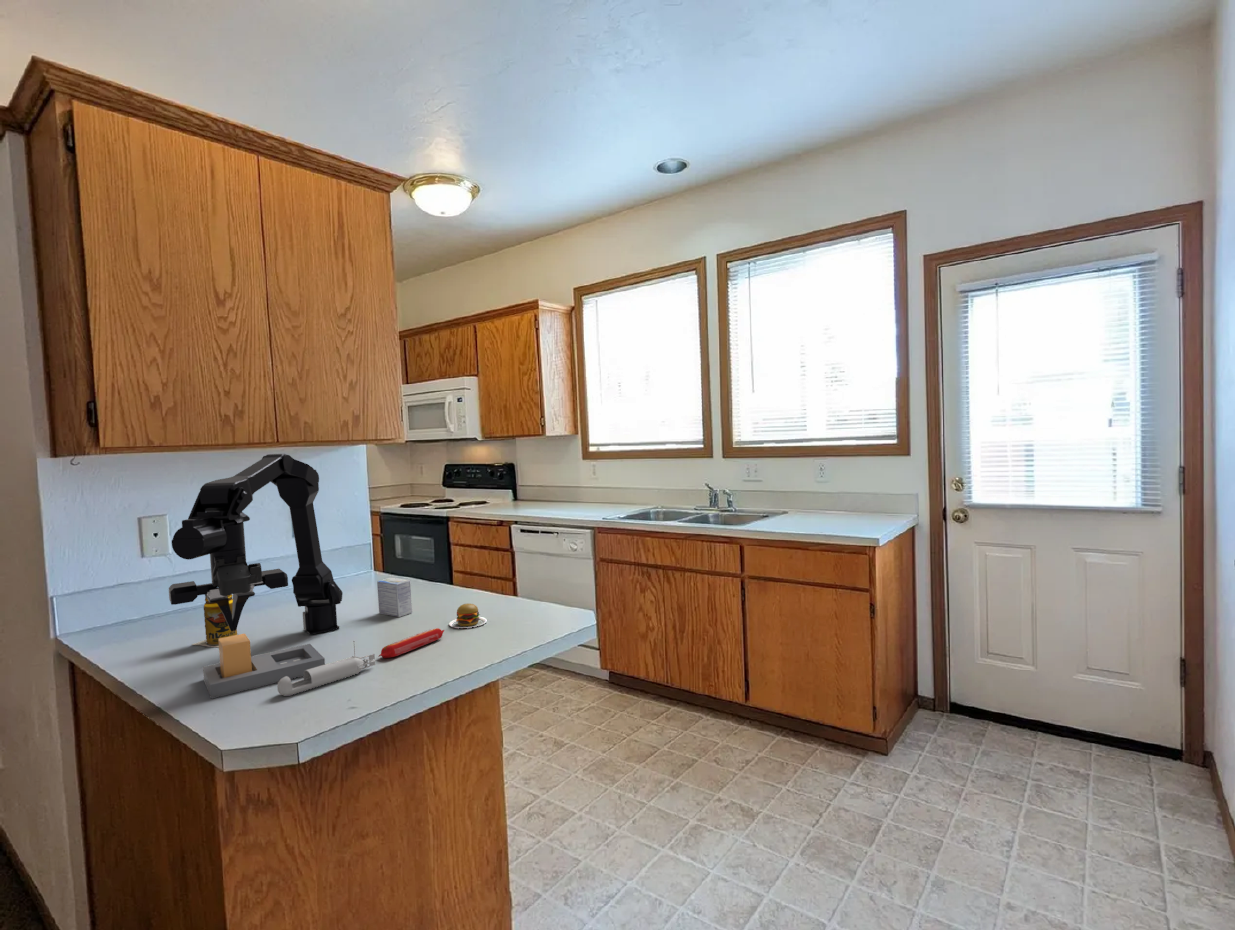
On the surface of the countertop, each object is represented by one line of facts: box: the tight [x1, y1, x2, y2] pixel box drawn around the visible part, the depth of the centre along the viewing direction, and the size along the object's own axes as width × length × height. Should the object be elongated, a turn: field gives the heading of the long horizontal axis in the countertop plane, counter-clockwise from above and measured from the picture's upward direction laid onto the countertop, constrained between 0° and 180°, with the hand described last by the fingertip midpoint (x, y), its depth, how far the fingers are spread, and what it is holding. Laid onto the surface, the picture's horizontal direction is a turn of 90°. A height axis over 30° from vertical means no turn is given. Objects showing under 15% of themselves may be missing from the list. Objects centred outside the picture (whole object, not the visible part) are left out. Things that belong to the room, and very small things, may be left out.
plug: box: [218, 633, 252, 678], centre depth 122 cm, size 4×9×7 cm, turn 38°
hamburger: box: [448, 603, 488, 629], centre depth 153 cm, size 12×12×6 cm
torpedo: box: [277, 640, 376, 697], centre depth 120 cm, size 18×5×7 cm, turn 139°
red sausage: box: [378, 627, 445, 659], centre depth 137 cm, size 16×4×3 cm, turn 149°
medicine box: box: [377, 577, 413, 618], centre depth 164 cm, size 8×4×9 cm, turn 57°
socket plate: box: [202, 643, 326, 699], centre depth 124 cm, size 19×12×2 cm, turn 128°
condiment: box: [191, 594, 238, 648], centre depth 146 cm, size 7×8×12 cm
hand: (233, 630), depth 121 cm, fingers closed
